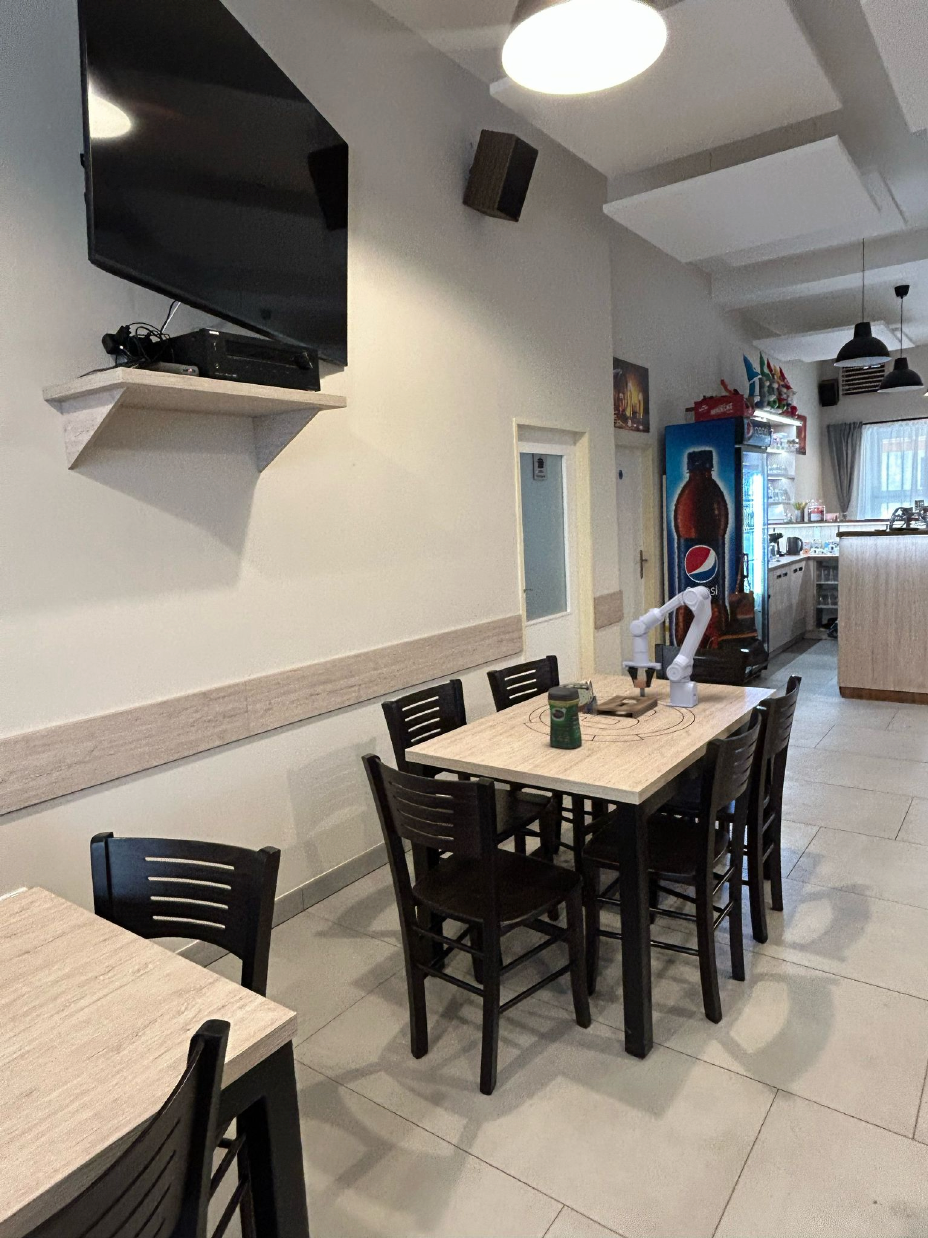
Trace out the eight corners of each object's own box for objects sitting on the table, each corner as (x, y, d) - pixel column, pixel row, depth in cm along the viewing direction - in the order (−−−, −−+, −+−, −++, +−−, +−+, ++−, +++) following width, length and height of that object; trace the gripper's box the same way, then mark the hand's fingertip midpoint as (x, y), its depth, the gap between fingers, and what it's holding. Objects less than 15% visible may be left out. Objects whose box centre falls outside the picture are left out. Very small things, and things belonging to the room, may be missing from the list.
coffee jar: (586, 744, 247) (583, 685, 245) (572, 751, 241) (570, 691, 239) (559, 740, 253) (556, 683, 251) (546, 747, 247) (543, 688, 245)
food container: (591, 708, 294) (590, 681, 293) (592, 712, 288) (591, 685, 287) (557, 709, 295) (556, 683, 294) (558, 713, 289) (556, 686, 288)
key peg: (651, 700, 301) (650, 678, 300) (646, 702, 297) (645, 680, 296) (639, 699, 304) (638, 677, 303) (634, 701, 300) (633, 679, 299)
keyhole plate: (657, 705, 291) (657, 698, 291) (636, 718, 275) (635, 710, 274) (617, 702, 301) (616, 695, 300) (593, 714, 284) (593, 707, 284)
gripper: (663, 650, 297) (664, 686, 299) (627, 649, 306) (628, 683, 307) (656, 653, 292) (657, 689, 293) (619, 652, 300) (621, 687, 301)
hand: (642, 687), depth 300 cm, fingers closed on key peg, 5 cm apart
